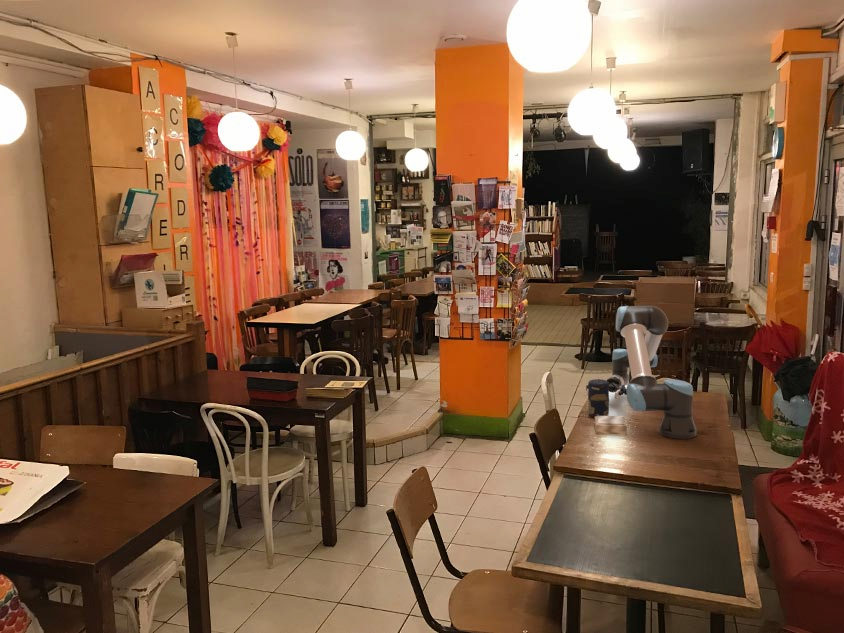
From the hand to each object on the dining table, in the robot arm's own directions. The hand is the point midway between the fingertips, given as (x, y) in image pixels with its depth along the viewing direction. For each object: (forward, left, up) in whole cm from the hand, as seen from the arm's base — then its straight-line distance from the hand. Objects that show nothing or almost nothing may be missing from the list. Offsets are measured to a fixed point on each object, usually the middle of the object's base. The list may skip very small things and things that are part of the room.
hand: (601, 394), depth 329 cm
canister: (+2, +5, -10) cm, 11 cm away
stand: (-2, +25, -9) cm, 27 cm away
